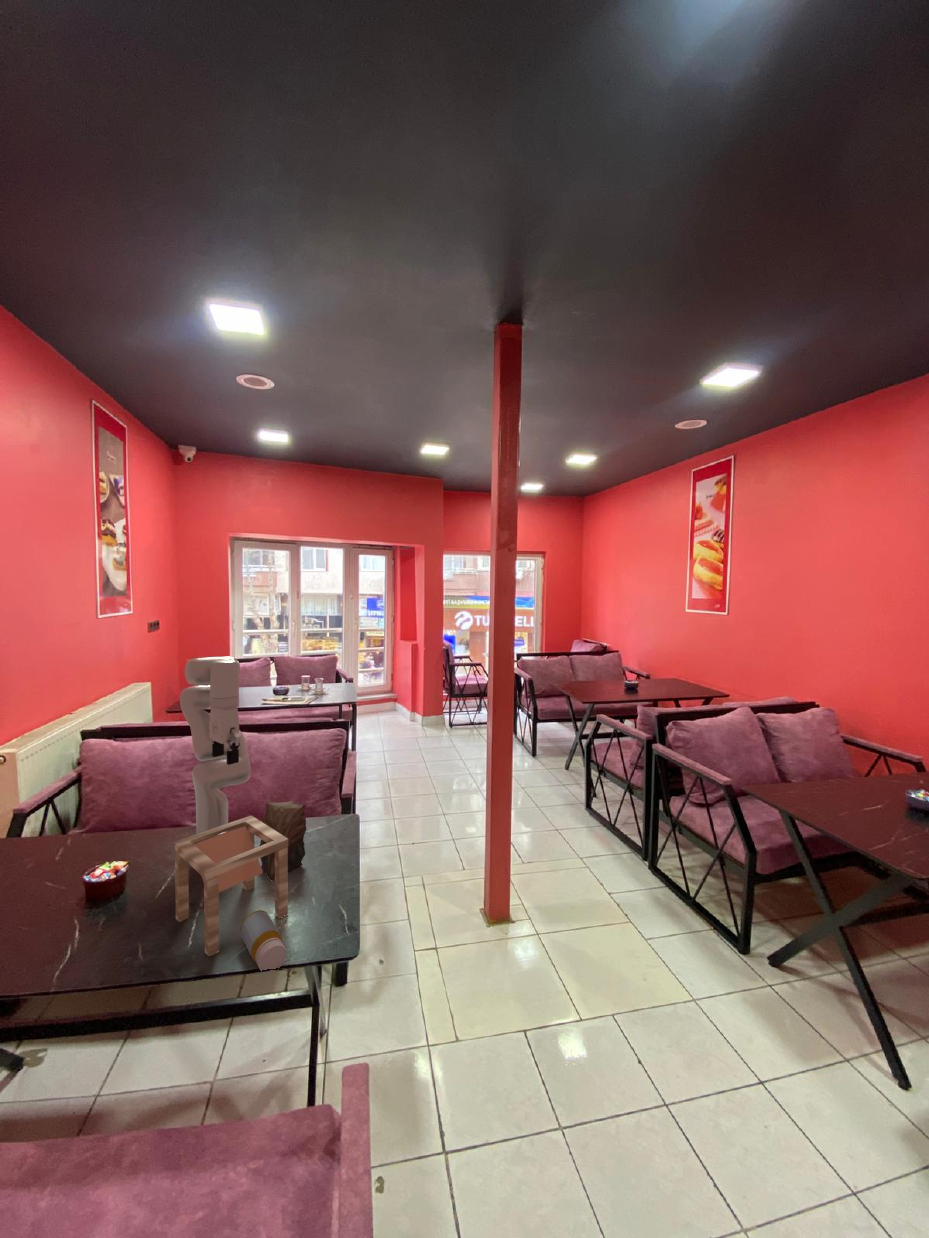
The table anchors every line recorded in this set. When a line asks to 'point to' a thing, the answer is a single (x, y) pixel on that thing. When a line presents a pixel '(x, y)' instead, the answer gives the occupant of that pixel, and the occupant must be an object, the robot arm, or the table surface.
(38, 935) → the table surface
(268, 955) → the bottle
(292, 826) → the tree stump
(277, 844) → the trapdoor frame
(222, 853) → the trapdoor
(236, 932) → the table surface
